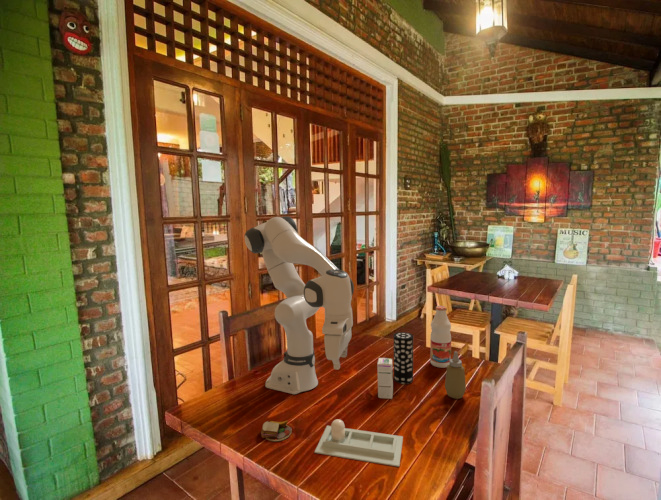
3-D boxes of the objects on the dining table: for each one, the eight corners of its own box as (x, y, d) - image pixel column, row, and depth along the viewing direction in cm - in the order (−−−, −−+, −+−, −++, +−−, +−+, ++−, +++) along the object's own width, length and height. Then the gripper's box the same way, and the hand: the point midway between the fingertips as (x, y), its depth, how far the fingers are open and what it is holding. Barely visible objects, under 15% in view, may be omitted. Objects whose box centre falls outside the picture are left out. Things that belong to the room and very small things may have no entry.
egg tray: (314, 452, 113) (314, 446, 113) (327, 426, 126) (327, 421, 126) (399, 466, 106) (399, 460, 106) (403, 437, 119) (403, 431, 119)
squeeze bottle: (447, 388, 151) (447, 346, 149) (467, 393, 146) (468, 350, 144) (442, 397, 144) (442, 353, 142) (463, 402, 140) (464, 357, 138)
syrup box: (392, 399, 143) (392, 364, 142) (377, 398, 144) (377, 363, 143) (393, 392, 149) (392, 358, 147) (378, 390, 150) (378, 357, 148)
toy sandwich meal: (288, 444, 118) (287, 433, 118) (257, 442, 119) (257, 432, 119) (294, 426, 127) (293, 417, 127) (266, 425, 128) (265, 416, 128)
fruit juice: (447, 359, 179) (448, 304, 175) (453, 368, 169) (454, 309, 166) (428, 359, 179) (428, 304, 176) (432, 368, 170) (433, 309, 167)
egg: (329, 443, 117) (329, 423, 116) (333, 435, 121) (333, 415, 120) (343, 445, 115) (342, 425, 115) (346, 437, 120) (346, 417, 119)
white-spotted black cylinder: (393, 383, 156) (392, 338, 154) (394, 374, 164) (394, 331, 162) (412, 384, 154) (413, 339, 152) (413, 376, 162) (413, 332, 160)
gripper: (337, 311, 127) (338, 349, 128) (320, 330, 107) (322, 375, 109) (355, 312, 125) (356, 350, 126) (341, 331, 105) (343, 377, 107)
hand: (340, 362), depth 117 cm, fingers open, 8 cm apart
